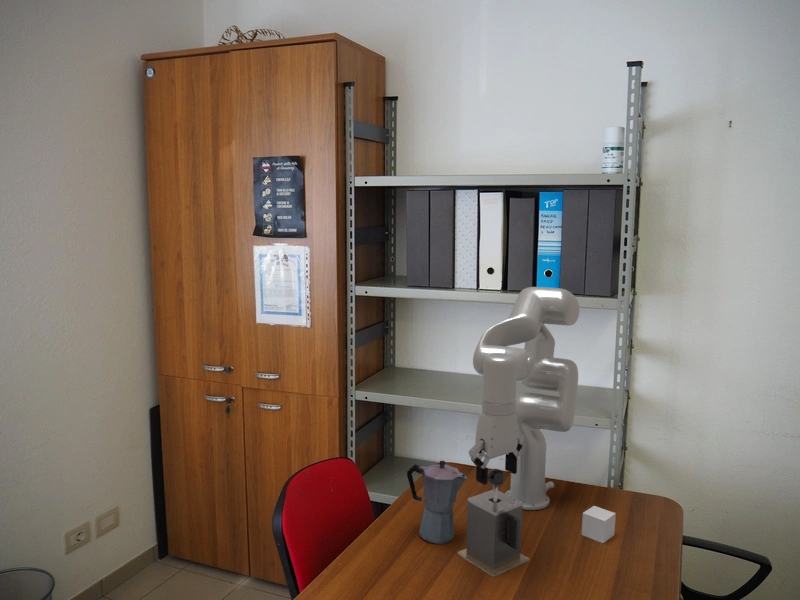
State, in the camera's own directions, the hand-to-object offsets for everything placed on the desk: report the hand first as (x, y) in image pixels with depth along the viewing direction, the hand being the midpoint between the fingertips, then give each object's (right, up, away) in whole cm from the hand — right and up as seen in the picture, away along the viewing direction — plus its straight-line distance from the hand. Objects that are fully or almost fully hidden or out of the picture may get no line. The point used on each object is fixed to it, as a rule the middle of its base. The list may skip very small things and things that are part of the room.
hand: (496, 477), depth 147 cm
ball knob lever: (0, -15, +1) cm, 15 cm away
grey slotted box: (0, -20, +2) cm, 20 cm away
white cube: (+28, -19, +14) cm, 37 cm away
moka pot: (-14, -19, +12) cm, 26 cm away
